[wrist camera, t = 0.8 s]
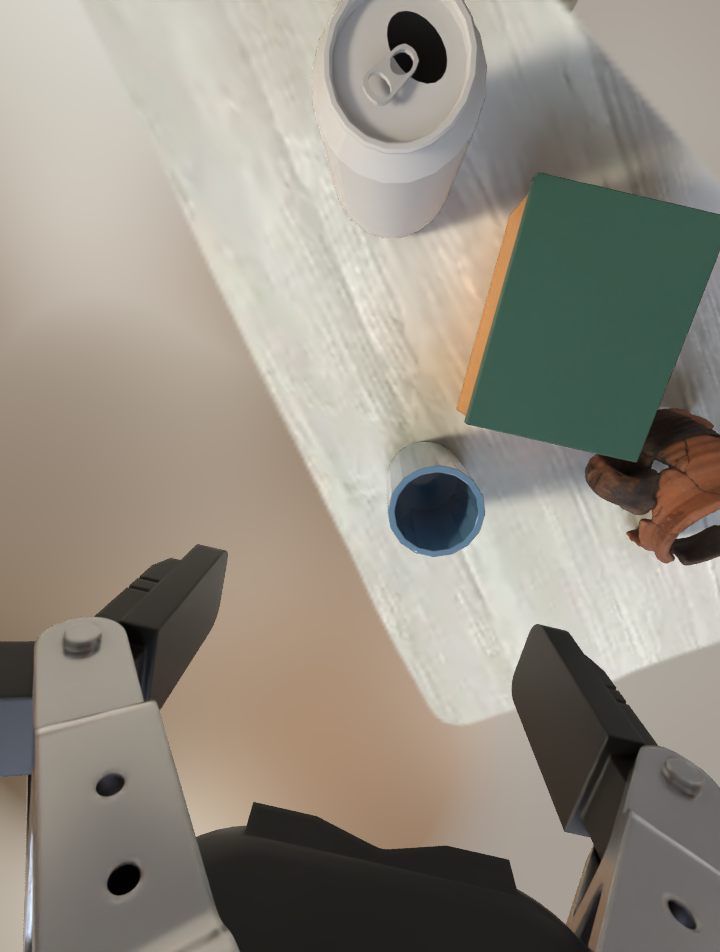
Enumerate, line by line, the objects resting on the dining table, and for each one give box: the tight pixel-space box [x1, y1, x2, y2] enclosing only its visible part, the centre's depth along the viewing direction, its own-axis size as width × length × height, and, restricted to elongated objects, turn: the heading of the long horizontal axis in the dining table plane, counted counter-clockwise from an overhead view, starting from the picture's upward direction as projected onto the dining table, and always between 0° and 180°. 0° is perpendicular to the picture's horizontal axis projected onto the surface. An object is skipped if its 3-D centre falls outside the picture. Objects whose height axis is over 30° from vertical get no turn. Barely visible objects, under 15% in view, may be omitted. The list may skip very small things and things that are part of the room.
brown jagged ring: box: [585, 409, 720, 565], centre depth 31 cm, size 12×10×8 cm
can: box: [312, 0, 487, 238], centre depth 23 cm, size 8×8×12 cm
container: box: [457, 172, 720, 462], centre depth 28 cm, size 14×11×6 cm
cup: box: [387, 442, 485, 557], centre depth 30 cm, size 6×6×8 cm
